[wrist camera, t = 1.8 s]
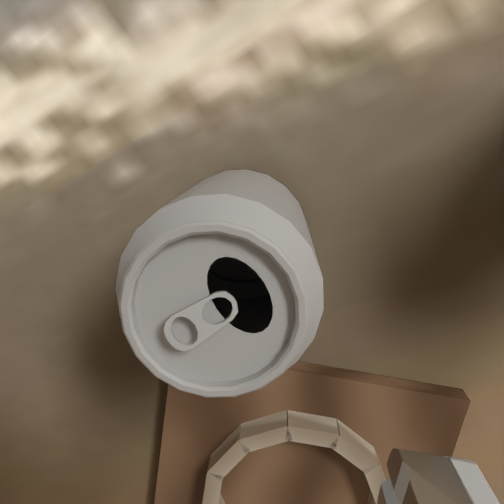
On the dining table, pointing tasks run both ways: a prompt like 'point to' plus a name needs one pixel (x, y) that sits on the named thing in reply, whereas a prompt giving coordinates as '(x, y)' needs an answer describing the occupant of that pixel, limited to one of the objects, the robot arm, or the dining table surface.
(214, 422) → the seat board
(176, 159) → the dining table surface
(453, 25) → the dining table surface
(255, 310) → the can
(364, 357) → the dining table surface
